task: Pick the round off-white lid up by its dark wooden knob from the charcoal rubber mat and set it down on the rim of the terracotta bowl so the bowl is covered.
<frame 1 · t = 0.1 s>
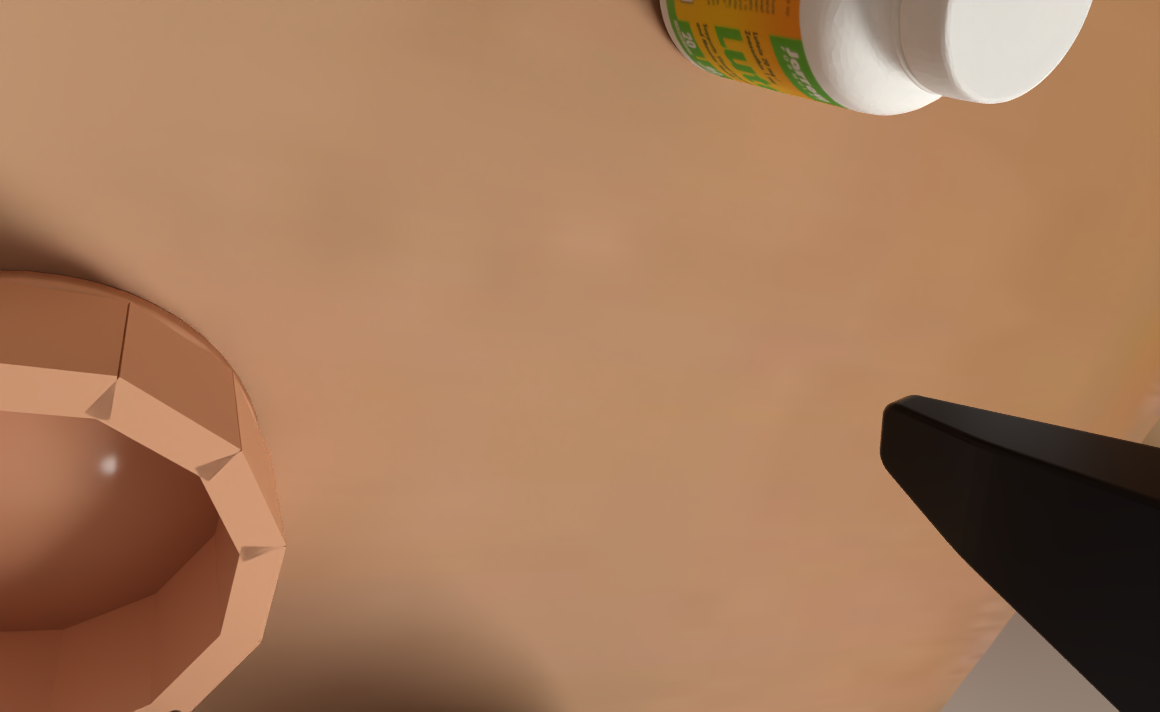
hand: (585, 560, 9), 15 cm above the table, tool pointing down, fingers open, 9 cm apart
bowl: (35, 469, 20), on the table
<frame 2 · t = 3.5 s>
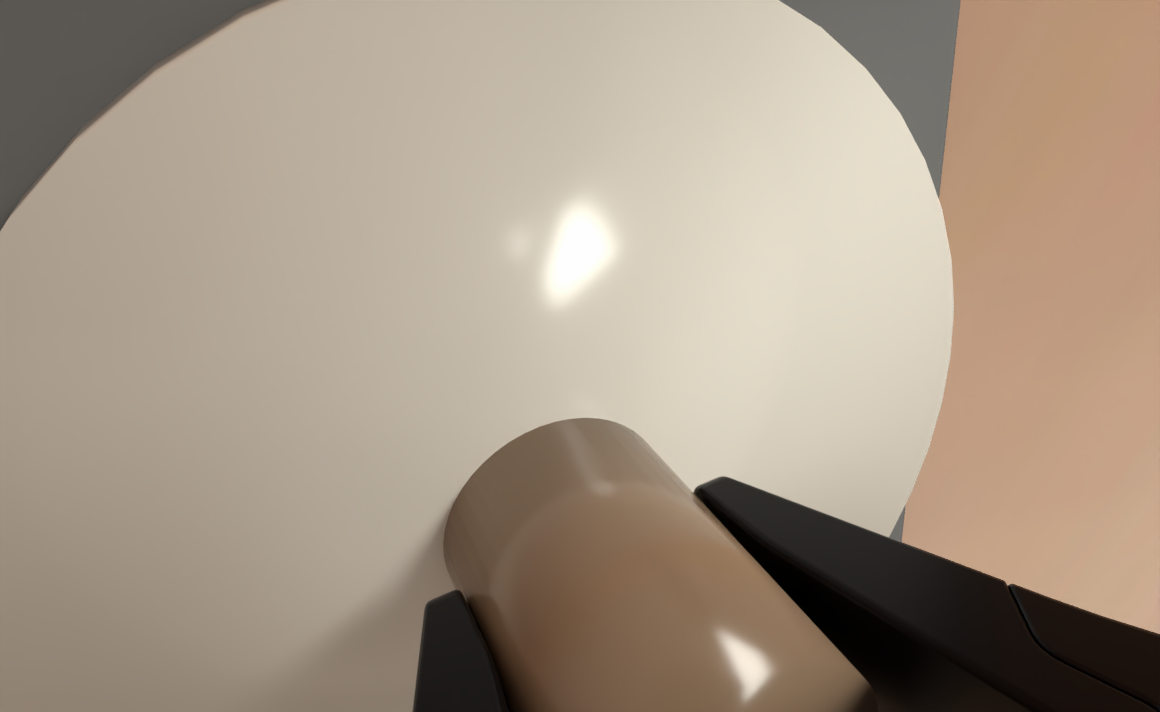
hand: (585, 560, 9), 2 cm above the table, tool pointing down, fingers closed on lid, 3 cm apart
mat: (517, 458, 11), on the table
lid: (530, 477, 11), resting on mat, touching gripper
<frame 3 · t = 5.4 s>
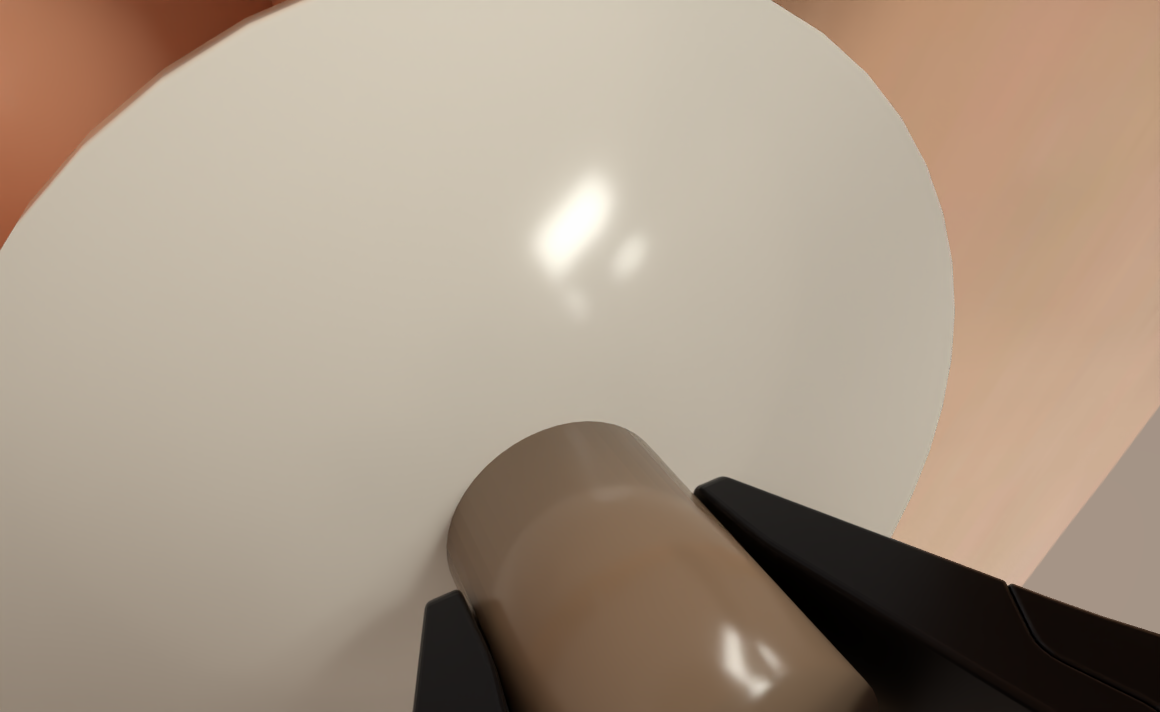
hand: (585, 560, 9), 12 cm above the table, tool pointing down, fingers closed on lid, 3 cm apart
lid: (532, 480, 11), point 10 cm above the table, touching gripper
when the fingers open (8 cm above the table, at t = 7.6 s): lid stays where it is, resting on bowl.
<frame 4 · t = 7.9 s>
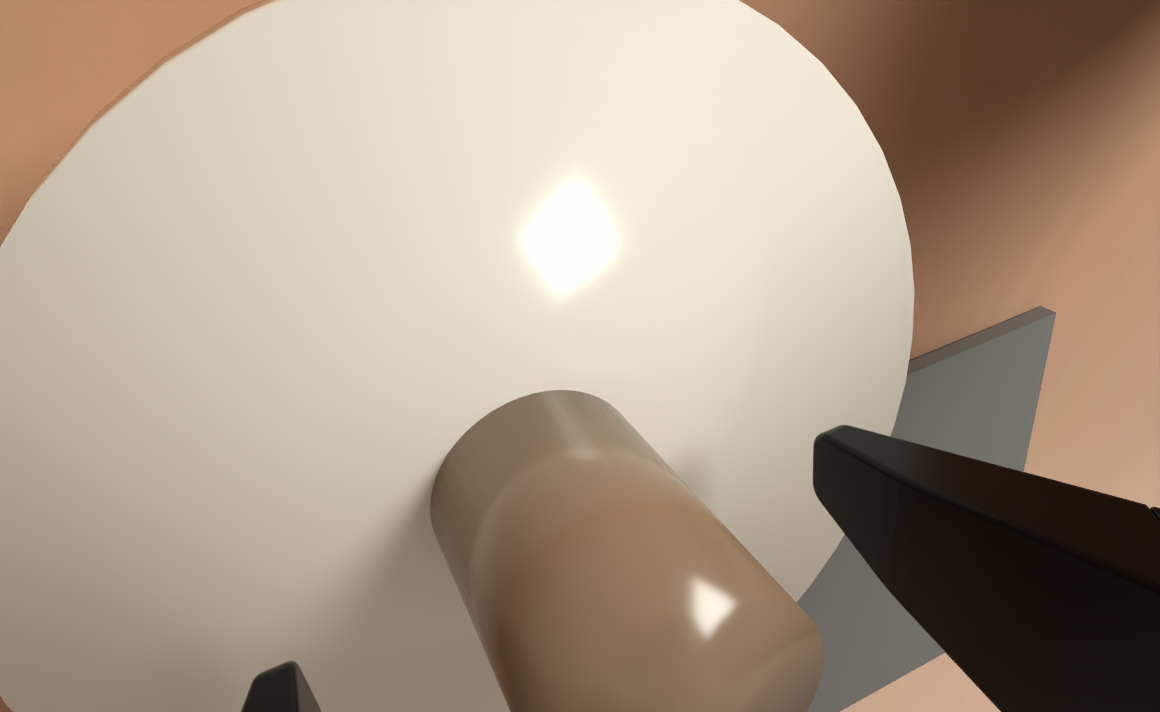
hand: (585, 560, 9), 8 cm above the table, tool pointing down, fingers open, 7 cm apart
mat: (846, 562, 25), on the table
lid: (513, 449, 11), point 5 cm above the table, touching bowl
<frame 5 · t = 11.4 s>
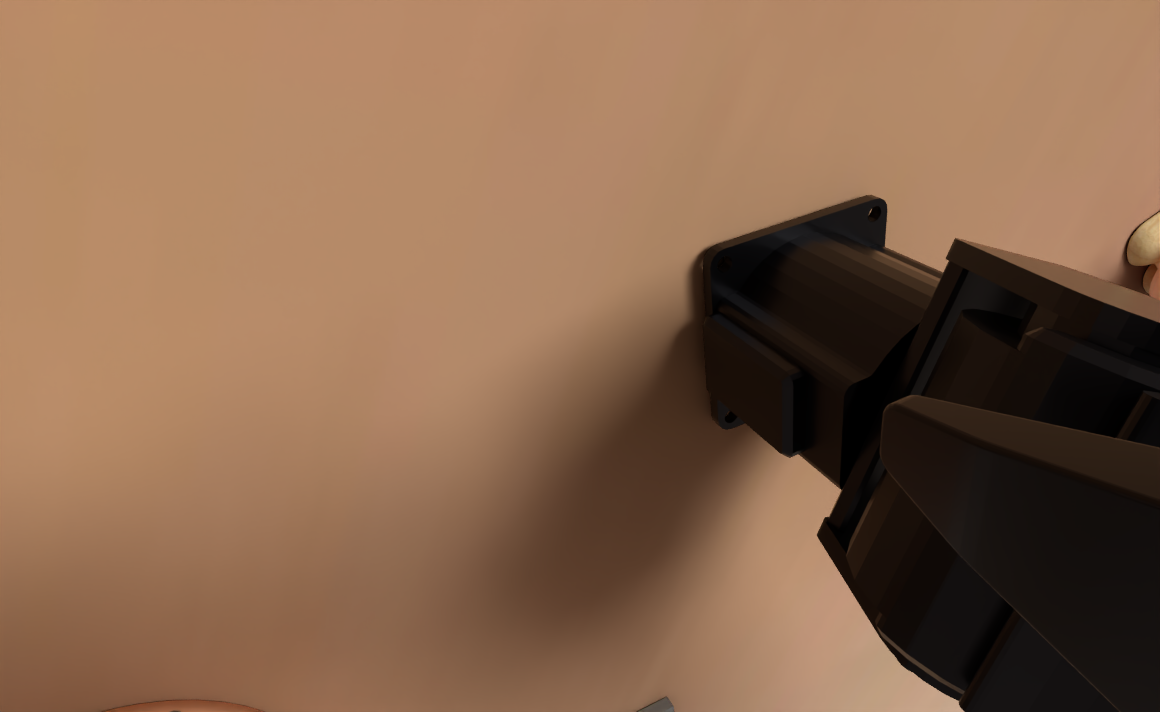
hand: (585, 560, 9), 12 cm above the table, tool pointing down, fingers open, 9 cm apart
grandmother figurine: (1155, 255, 33), on the table
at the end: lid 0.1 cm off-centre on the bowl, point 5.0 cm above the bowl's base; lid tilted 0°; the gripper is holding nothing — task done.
